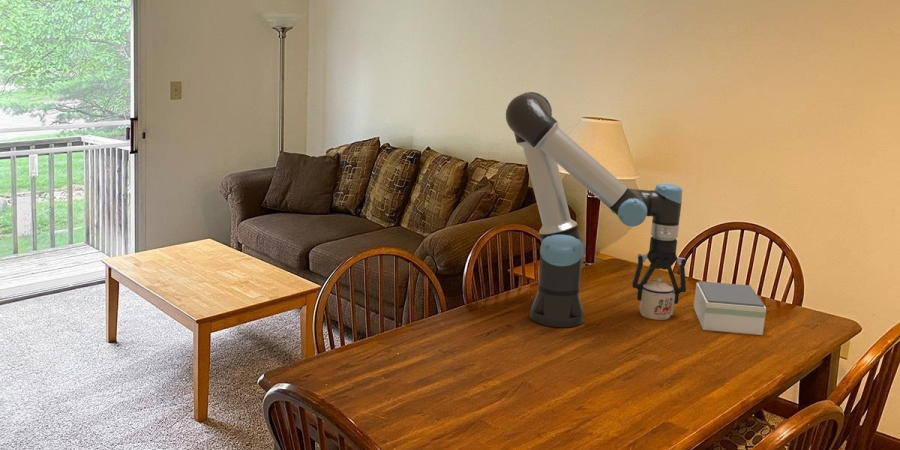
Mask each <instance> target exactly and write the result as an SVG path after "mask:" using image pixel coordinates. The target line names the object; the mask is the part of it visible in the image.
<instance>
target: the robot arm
mask: <svg viewBox="0 0 900 450" xmlns="http://www.w3.org/2000/svg"><path fill="white" fill-rule="evenodd" d="M552 115H553V109H552V105H551V103H550V101H549V100H548V98H546V96H544V95H543V94H540V93H538V92H535V91H534V92H533V91H527V92H524V93H521V94H519V95H517V96H516V97H514V98H512V100H511V101H510V102H509V103H508V105H507V107H506V110H505V120H506V121H505V122H506V123H507V125H508V127H509V129H510V130H511V131H512V132H513V134H514V138H515V140H516V144H517V145H518V146H520V147H522V148H523V153H524V156H525V157H524V158H525V160H526V164H527V168H528V171H529V177H530V180H531V181H530V182H531V184H532V189H533V193H534V196H535V201H536V204H537V208H538V214H539V217H540V220H541V224H542V226H541V227H540V229H539V231H538V234H539V237H540V242H541V245H540V247H539V254H540V255H539V272H538V284H537V285H538V287H537V292H536V294H535V298H534V300H533V303H532V304H531V307H530V311H529V314H530V315H529V317H530V319H531V320H532V321H533V322H535V323H537V324H539V325H543V326H547V327H553V328H573V327H577V326H579V325H581V324H583V322H584V316H585V315H584V310H583V305H582V301H581V298H580V286H581V285H580V284H581V275H582V264H583V260H584V257H585V252H586V251H585V250H586V249H585V248H586V246H585V242H584V239H583V237H581V232H580V230H579V225H578V222H576V221H575V220H573V219H572V218H571V215H570V210H569V206H568V202H567V201H568V200H567V198H566V197H567V196H566V194H565V193H566V192H565V189H564V185H563V181H562V177H561V176H562V175H561V173H560V169H559V166H560V167H561V169H564V170H565V171H566V172H567V173H568V174H569V175H570V176H572V177H573V178H574V179H575V180H576V181H577V182H579V183H580V184H581V185H582V186H583V187H585V189H586V190H588V191H589V192H590V193H591V194H593V195H594V197H596V198H597V199H598V200H599V201H600V202H602V203H603V204H604V205H605V206H606V207H608V209H609V210H610V211H611V213H612V214H615V215H616V216H617V218H618V219H619V221H621V223H622V224H623V225H626V226H627V227H632V228H634V227H638V226H640V225H641V224H643V223H644V222H645V220H646V218H647V217H652V220H651V221H652V223H651V230H650V235H651V237H650V238H649V239H650V240H649V250H648V252H647V253H646V254H641V253H639V254H637V264H636V265H637V266H636V268H635V272H634V276H633V278H632V283H631V286H632V288H633V289H636V290H637V292H636V293H637V294H636V299H637V301H640V302H639V312H641V303H642V294H643V288H642V287H643V285H644V284H646V283H647V282H649V280H650V278H651V276H652V275H653V272H655V270H660V269H661V270H664V271H665V270H667V273H668V276H669V279H670V281H671V285H672V286H673V288H674V291H673V297H672V306H671V315H670V316H673V315H674V308H675V307H674V306H675V304H676V305H677V304H678V303H679V297H680V294H681V293H686V291H687V286H686V285H687V283H686V271H685V267H686V264H687V260H686V258H685V257H679V256H678V255H677V248H678V240H677V238H678V237H679V228H680V227H679V225H680V219H681V212H682V211H681V210H682V203H683V202H682V200H683V189H682V187H681V186H680V185H678V184H674V183H673V184H672V183H658V184H656V186H655V188H654V189H652V190H646V189H636V188H629V187H627V186H626V185H625V184H624V183H623V182H621V181H620V179H618V178H617V177H616V176H615V175H614V174H613V173H612V172H610V170H608V169H607V168H606V167H604V165H602V164H601V163H600V162H599V161H598V160H597V159H595V157H593V156H592V155H591V154H589V153H588V151H586V150H585V149H584V148H583V147H581V146H580V145H579V144H578V143H577V141H575V140H574V139H573V138H571V137H570V136H569V135H568V134H566V132H564V131H563V130H562V129H561V128H559V127H560V126H559V121H558V120H556V119H555V118H554V117H553V116H552ZM646 260H648V261H649V263H650V264H649V265H648V267H647V270H646V271H645V273H644V274H643V277H642V278H641V279H640V276H641V273H642V270H643V265H644V263H645V262H646ZM676 262H677V265H678V267H679V282H680V286H678V284H677V281H676V278H675V274H674V272H673V268H672V266H673V265H674V264H675V263H676ZM639 280H640V282H639Z"/></svg>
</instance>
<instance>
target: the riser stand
mask: <svg viewBox="0 0 900 450" xmlns="http://www.w3.org/2000/svg"><path fill="white" fill-rule="evenodd" d="M694 292H695V293H694V301H693V311H694V312H695V315H696V316H697V318H698V321H699V323H700V326H701V328H702V330H703V331H712V332H721V333H722V332H724V333H734V334H744V335H756V336H764V328H765V320H766V315H767V307H766V304H764V303H763V301H762V300H761V298H760V297H759V295H758V294H757V293H756V291H755V289H753V287H752V286H751V285H749V284H736V283H726V282H712V281H701V280H700V281H698V282H696V283H695V291H694Z"/></svg>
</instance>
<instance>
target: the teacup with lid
mask: <svg viewBox="0 0 900 450" xmlns="http://www.w3.org/2000/svg"><path fill="white" fill-rule="evenodd" d="M642 288H643V294H642V303H641V312H640V311H639V312H640V315H641V316H643V317H644V318H646V319H649V320H656V321H663V320H666V321H667V320H668V319H670V318H671V316H672V315H671V306H672V297H673V291H674V288H673V285H672V284H670V283H667V282H666V281H665V280H663V277H662V276H661V277H660V276H656V277H655V279H652V280H650V281H649V280H648V281H647V283H646V284H644V285H643V287H642Z"/></svg>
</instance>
